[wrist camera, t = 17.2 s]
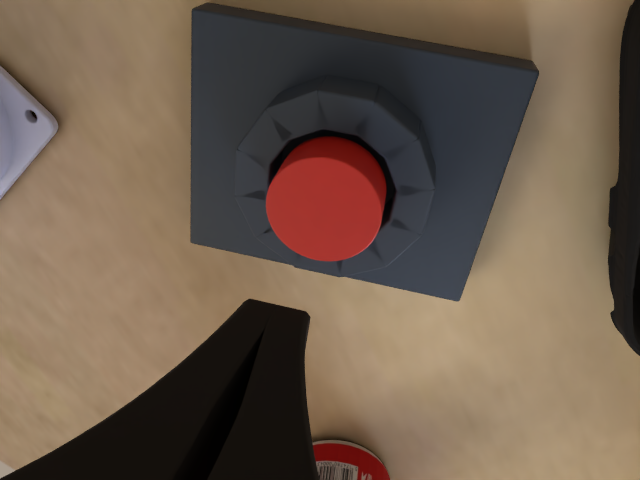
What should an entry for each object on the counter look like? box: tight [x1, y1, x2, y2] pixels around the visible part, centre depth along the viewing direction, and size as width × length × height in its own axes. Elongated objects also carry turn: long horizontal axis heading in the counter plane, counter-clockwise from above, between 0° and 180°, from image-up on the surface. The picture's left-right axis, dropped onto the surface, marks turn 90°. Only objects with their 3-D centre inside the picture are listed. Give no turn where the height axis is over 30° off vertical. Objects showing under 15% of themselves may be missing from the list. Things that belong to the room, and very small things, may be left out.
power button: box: [266, 136, 387, 261], centre depth 17 cm, size 4×4×2 cm
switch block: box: [191, 3, 539, 301], centre depth 19 cm, size 11×9×3 cm
